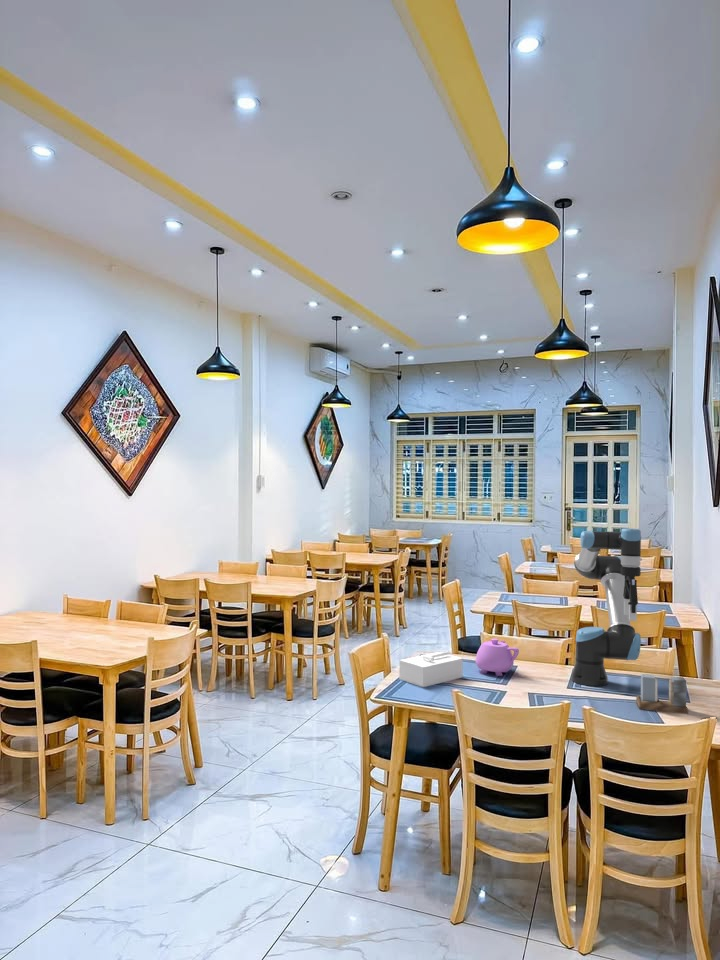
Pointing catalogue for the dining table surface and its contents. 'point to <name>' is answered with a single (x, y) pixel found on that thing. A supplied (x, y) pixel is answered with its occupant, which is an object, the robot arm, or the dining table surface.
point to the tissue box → (431, 669)
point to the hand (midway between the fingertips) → (630, 617)
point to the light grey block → (648, 688)
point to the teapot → (495, 657)
